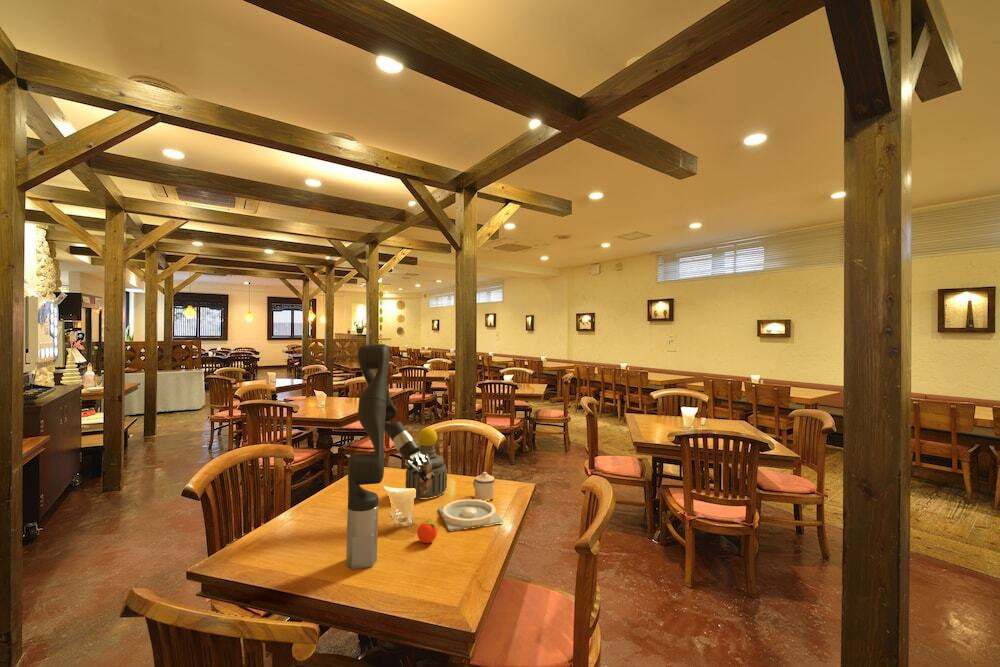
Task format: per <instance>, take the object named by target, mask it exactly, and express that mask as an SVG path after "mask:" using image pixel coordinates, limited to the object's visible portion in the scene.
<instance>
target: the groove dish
mask: <svg viewBox="0 0 1000 667" xmlns="http://www.w3.org/2000/svg"><path fill="white" fill-rule="evenodd" d="M438 509H439V510H438ZM496 509H497V508H496V506H495V505H494V504H493V503H491V502H490V501H489V502H487V501H483V500H478V499H475V498H473V499H471V498H467V499H466V498H465V499H457V500H455V501H451V502H448V503H447V504H445V505H444V506H438V508H437V510H438V512H439V511H440V512H439V514H440V513H441V514H440V516H441V515H442V516H441V518H442V517H443V518H442V520H443V519H444V521H445V523H444V524H446V525H445V527H446V526H447V527H446V528H448V529H447V530H449V531H451V532H453V531H452V530H458V529H464V528H472V527H478V526H484V525H490V524H495V523H500V522H503V523H504V521H503V520H502V518H500V516H499V515H498V514H497V510H496ZM444 521H443V522H444ZM472 529H473V528H472ZM449 531H448V532H449ZM458 531H459V530H458Z"/></svg>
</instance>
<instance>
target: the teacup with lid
mask: <svg viewBox="0 0 1000 667" xmlns="http://www.w3.org/2000/svg"><path fill="white" fill-rule="evenodd" d="M472 485H473V488H474V498H475V497H476V498H477V499H482V500H486V499H491V498H493V497H494V498H495V477H494V476H493V475H490V474H488V472H487V471H483V472H482V474H480V475H477V476H475V477H474V479H473V482H472Z"/></svg>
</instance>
